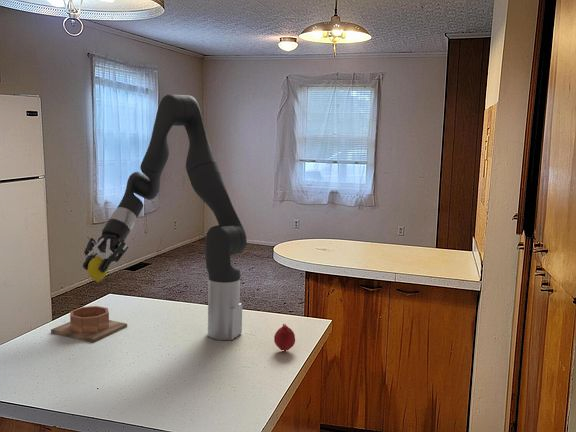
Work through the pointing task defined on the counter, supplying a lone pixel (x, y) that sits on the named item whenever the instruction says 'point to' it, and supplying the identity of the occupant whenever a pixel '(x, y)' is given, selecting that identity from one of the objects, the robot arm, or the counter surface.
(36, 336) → the counter surface
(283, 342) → the onion
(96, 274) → the lemon
